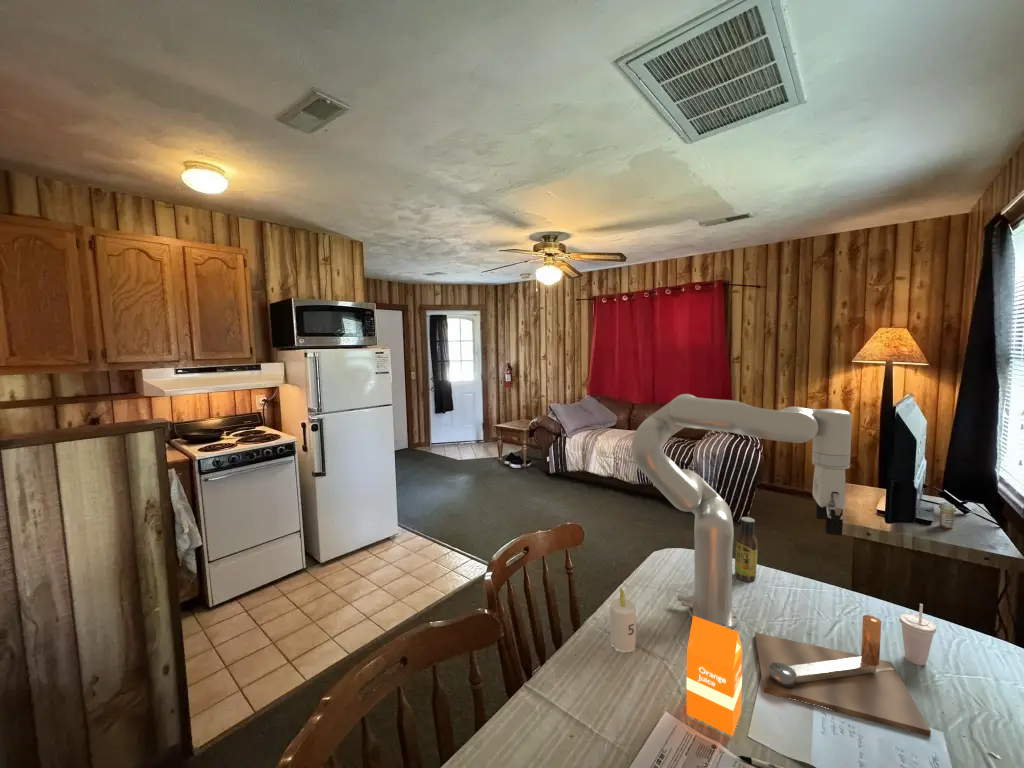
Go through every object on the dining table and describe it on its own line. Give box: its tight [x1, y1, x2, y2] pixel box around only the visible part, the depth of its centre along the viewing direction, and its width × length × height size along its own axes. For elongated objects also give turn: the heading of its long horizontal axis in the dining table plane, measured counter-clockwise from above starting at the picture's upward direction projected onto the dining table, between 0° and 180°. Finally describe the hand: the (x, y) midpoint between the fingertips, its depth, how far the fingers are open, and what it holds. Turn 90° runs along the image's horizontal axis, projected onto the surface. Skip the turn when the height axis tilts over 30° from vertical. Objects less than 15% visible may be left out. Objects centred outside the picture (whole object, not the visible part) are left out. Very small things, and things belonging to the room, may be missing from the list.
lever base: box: [754, 632, 932, 737], centre depth 98 cm, size 28×20×1 cm
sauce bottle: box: [734, 516, 759, 582], centre depth 139 cm, size 6×6×20 cm
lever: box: [769, 614, 882, 688], centre depth 97 cm, size 26×5×12 cm, turn 97°
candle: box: [609, 587, 637, 651], centre depth 110 cm, size 6×6×15 cm
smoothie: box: [898, 603, 937, 666], centre depth 102 cm, size 6×6×14 cm
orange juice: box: [686, 616, 743, 737], centre depth 88 cm, size 8×9×20 cm
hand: (828, 526), depth 107 cm, fingers open, 9 cm apart
